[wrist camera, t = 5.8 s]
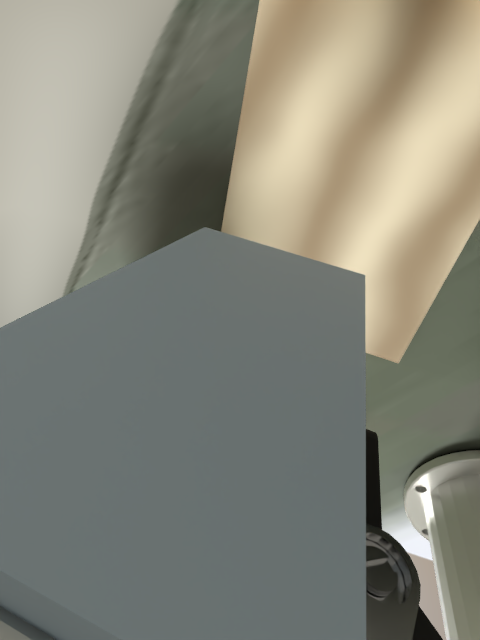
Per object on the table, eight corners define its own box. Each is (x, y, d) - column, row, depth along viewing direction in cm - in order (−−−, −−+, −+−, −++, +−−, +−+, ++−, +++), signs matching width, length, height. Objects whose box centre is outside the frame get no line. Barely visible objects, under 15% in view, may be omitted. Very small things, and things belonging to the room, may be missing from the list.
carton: (365, 275, 10) (366, 780, 2) (296, 438, 13) (199, 845, 5) (195, 224, 10) (-252, 424, 3) (174, 389, 14) (-53, 676, 6)
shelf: (599, -20, 14) (653, -57, 12) (396, 352, 25) (400, 377, 22) (279, -61, 17) (263, -100, 14) (216, 292, 27) (200, 309, 25)
